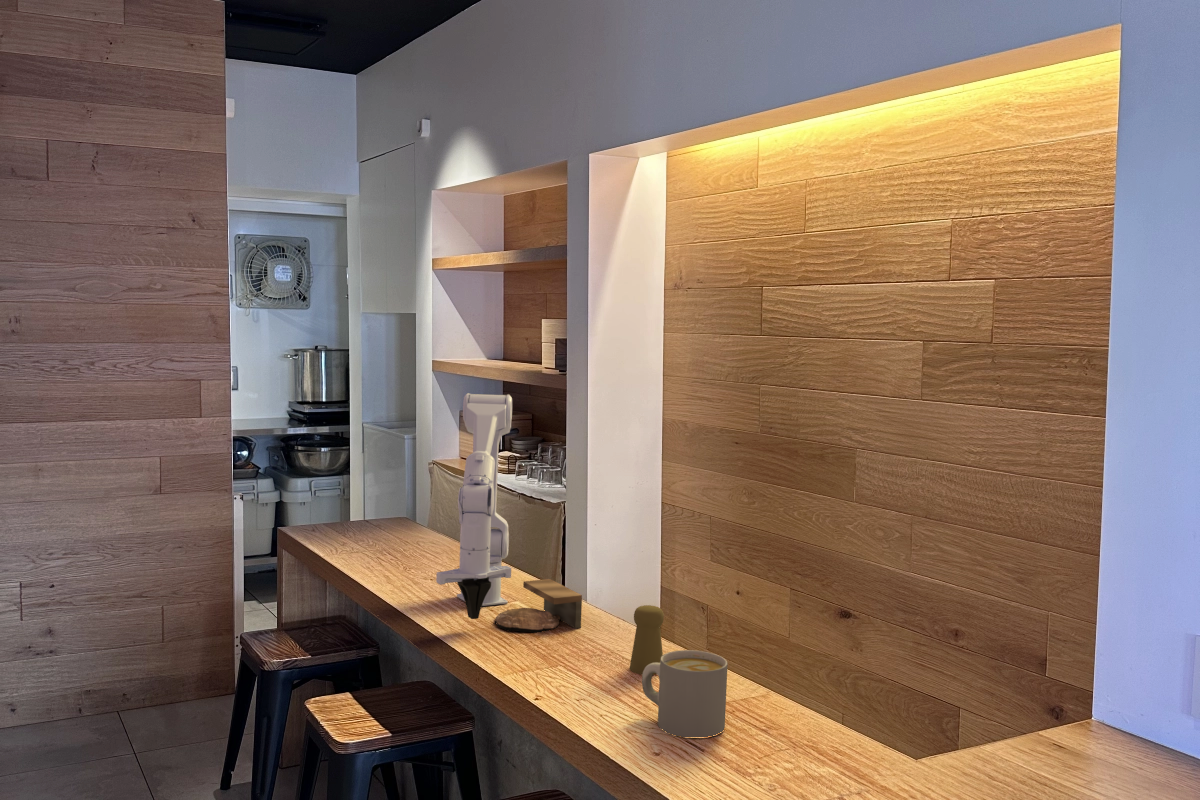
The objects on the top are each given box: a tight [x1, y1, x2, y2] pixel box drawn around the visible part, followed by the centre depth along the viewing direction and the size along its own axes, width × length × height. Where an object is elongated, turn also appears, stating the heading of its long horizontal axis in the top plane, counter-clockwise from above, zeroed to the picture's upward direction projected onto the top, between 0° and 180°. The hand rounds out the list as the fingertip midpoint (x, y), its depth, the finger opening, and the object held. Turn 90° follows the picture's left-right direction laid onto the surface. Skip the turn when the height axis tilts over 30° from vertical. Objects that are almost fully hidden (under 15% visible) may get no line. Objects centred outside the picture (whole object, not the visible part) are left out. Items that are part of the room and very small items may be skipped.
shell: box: [494, 607, 561, 634], centre depth 205 cm, size 12×13×4 cm
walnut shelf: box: [522, 578, 583, 629], centre depth 208 cm, size 14×6×6 cm, turn 29°
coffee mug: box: [641, 649, 728, 737], centre depth 156 cm, size 13×10×10 cm
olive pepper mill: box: [628, 604, 665, 676], centre depth 180 cm, size 6×6×11 cm
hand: (473, 617), depth 199 cm, fingers closed
